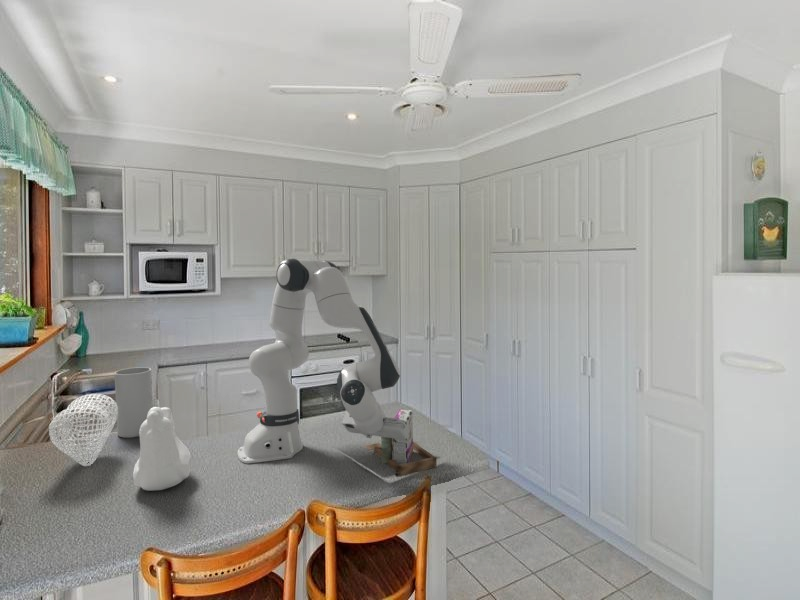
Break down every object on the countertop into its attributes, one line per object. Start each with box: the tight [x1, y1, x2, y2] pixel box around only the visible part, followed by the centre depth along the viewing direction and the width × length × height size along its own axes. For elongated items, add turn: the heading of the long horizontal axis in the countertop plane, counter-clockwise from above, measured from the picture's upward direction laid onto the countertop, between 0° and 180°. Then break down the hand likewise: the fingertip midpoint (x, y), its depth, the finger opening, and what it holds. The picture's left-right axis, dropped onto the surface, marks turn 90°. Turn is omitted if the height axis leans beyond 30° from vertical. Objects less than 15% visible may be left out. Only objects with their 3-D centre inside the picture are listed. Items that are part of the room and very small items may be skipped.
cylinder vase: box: [113, 366, 154, 439], centre depth 181 cm, size 12×12×25 cm
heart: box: [48, 393, 118, 467], centre depth 151 cm, size 28×16×22 cm, turn 20°
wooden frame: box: [373, 436, 438, 477], centre depth 153 cm, size 16×17×13 cm
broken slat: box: [364, 442, 381, 451], centre depth 165 cm, size 15×4×2 cm, turn 118°
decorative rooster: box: [132, 406, 192, 491], centre depth 141 cm, size 25×16×25 cm, turn 5°
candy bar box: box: [392, 408, 414, 465], centre depth 153 cm, size 11×5×16 cm, turn 168°
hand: (383, 437), depth 147 cm, fingers open, 8 cm apart
